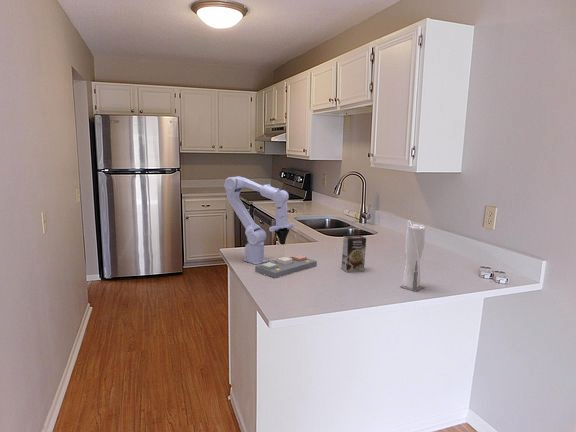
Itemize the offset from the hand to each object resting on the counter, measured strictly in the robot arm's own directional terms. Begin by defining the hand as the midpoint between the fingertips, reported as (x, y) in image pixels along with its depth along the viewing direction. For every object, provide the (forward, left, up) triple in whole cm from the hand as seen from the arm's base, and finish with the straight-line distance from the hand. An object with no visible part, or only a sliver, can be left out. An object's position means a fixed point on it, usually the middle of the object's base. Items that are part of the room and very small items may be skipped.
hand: (282, 244), depth 192 cm
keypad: (+5, -2, -10) cm, 12 cm away
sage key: (+4, -12, -10) cm, 16 cm away
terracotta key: (+4, +8, -10) cm, 13 cm away
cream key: (+4, -2, -9) cm, 10 cm away
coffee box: (+27, +20, -11) cm, 36 cm away
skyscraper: (+57, +19, -11) cm, 61 cm away
